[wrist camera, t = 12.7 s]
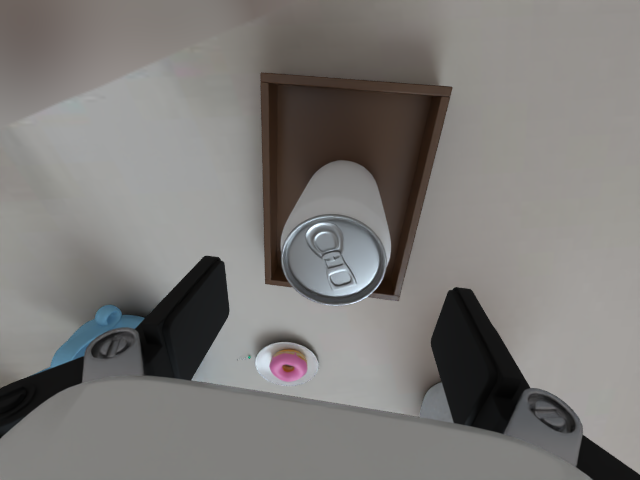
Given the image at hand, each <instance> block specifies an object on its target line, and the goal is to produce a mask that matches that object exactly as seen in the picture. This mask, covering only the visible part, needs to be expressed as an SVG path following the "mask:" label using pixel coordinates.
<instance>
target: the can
mask: <svg viewBox="0 0 640 480" xmlns="http://www.w3.org/2000/svg"><path fill="white" fill-rule="evenodd" d="M390 254H391V239H390V234H389V229H388V225H387V221H386V217H385V213H384V209H383V205H382V201H381V197H380V193H379V190H378V186H377V184H376V181H375V179H374V178H373V176H372V175H371V173H370V172H369V171H368V170H367V169H366V168H364V167H363V166H361V165H359V164H357V163H355V162H351V161H345V160H338V161H334V162H331V163H328V164H326V165H325V166H323V167H321V168H320V169H319V170H318V171H317V172H316V173H315V174H314V175H313V176H312V178H311V179H310V181H309V183H308V184H307V186H306V188H305V189H304V191H303V193H302V195H301V196H300V198H299V200H298V202H297V203H296V205H295V207H294V209H293V210H292V212H291V214H290V216H289V218H288V220H287V222H286V224H285V226H284V229H283V232H282V236H281V265H282V269H283V272H284V275H285V277H286V279H287V280H288V282H289V283H290V285H291V286H292V287H293V288H294V289H295V290H296V291H297V292H298V293H300V294H301V295H302V296H304V297H306V298H307V299H309V300H311V301H314V302H317V303H320V304H324V305H331V306H342V305H348V304H353V303H356V302H358V301H361V300H363V299H364V298H366V297H368V296H369V295H370V294H372V293H373V292H374V291H375V290H376V289H377V288H378V286H379V285H380V283H381V282H382V280H383V278H384V275H385V272H386V267H387V265H388V262H389V259H390Z"/></svg>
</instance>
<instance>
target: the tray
mask: <svg viewBox="0 0 640 480" xmlns="http://www.w3.org/2000/svg"><path fill="white" fill-rule="evenodd" d="M451 91H452V87H448V86H435V85H422V84H408V83H395V82H382V81H368V80H355V79H341V78H328V77H315V76H301V75H288V74H274V73H261V120H262V164H263V208H264V251H265V284H269V285H277V286H285V287H292V286H291V285H290V283H289V282H288V280H287V279H286V277H285V275H284V272H283V269H282V265H281V236H282V232H283V229H284V226H285V224H286V222H287V220H288V218H289V216H290V214H291V212H292V210H293V209H294V207H295V205H296V203H297V202H298V200H299V198H300V196H301V195H302V193H303V191H304V189H305V188H306V186H307V184H308V183H309V181H310V179H311V178H312V176H313V175H314V174H315V173H316V172H317V171H318V170H319V169H320V168H321V167H323V166H325V165H326V164H328V163H331V162H334V161H338V160H345V161H351V162H355V163H357V164H359V165H361V166H363V167H364V168H366V169H367V170H368V171H369V172H370V173H371V175H372V176H373V178H374V179H375V181H376V184H377V186H378V190H379V193H380V197H381V201H382V205H383V209H384V213H385V217H386V221H387V225H388V229H389V234H390V239H391V254H390V259H389V262H388V265H387V267H386V272H385V275H384V278H383V280H382V282H381V283H380V285H379V286H378V288H377V289H376V290H375V291H374V292H373V293H372V294H370V295H369V296H368V297H371V298H379V299H387V300H395V301H399V297H400V293H401V289H402V285H403V281H404V277H405V273H406V269H407V265H408V261H409V257H410V254H411V250H412V246H413V242H414V238H415V234H416V230H417V226H418V222H419V218H420V214H421V210H422V206H423V202H424V198H425V194H426V190H427V186H428V182H429V178H430V174H431V171H432V167H433V163H434V159H435V155H436V151H437V147H438V143H439V139H440V135H441V131H442V127H443V123H444V119H445V115H446V111H447V107H448V103H449V99H450V95H451Z"/></svg>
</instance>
